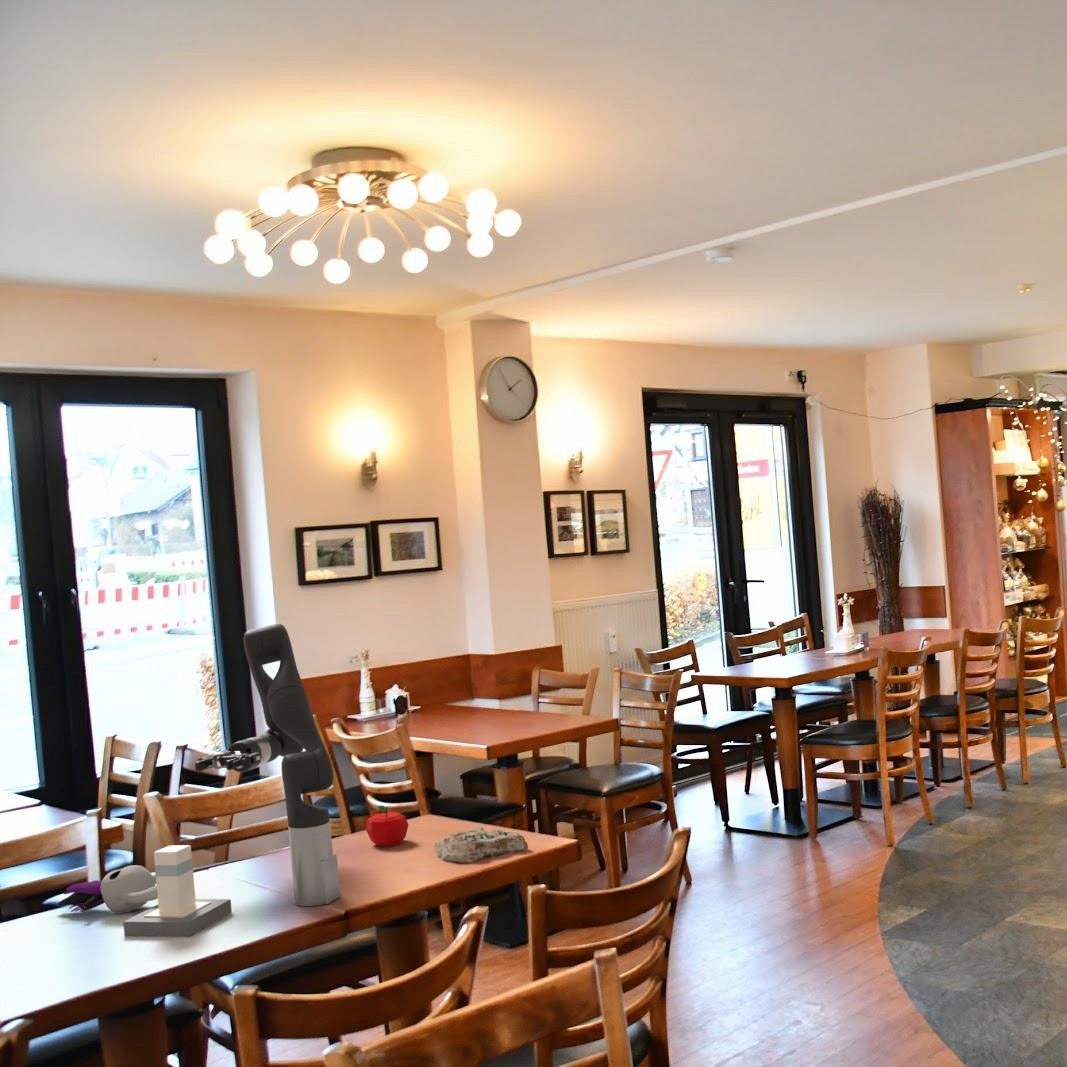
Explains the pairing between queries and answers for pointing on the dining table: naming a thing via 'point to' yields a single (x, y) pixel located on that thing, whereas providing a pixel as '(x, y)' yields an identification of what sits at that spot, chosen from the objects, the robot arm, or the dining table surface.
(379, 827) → the apple
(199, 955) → the dining table surface
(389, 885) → the dining table surface
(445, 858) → the stone
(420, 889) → the dining table surface
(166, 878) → the carton
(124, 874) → the figurine
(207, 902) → the podium
